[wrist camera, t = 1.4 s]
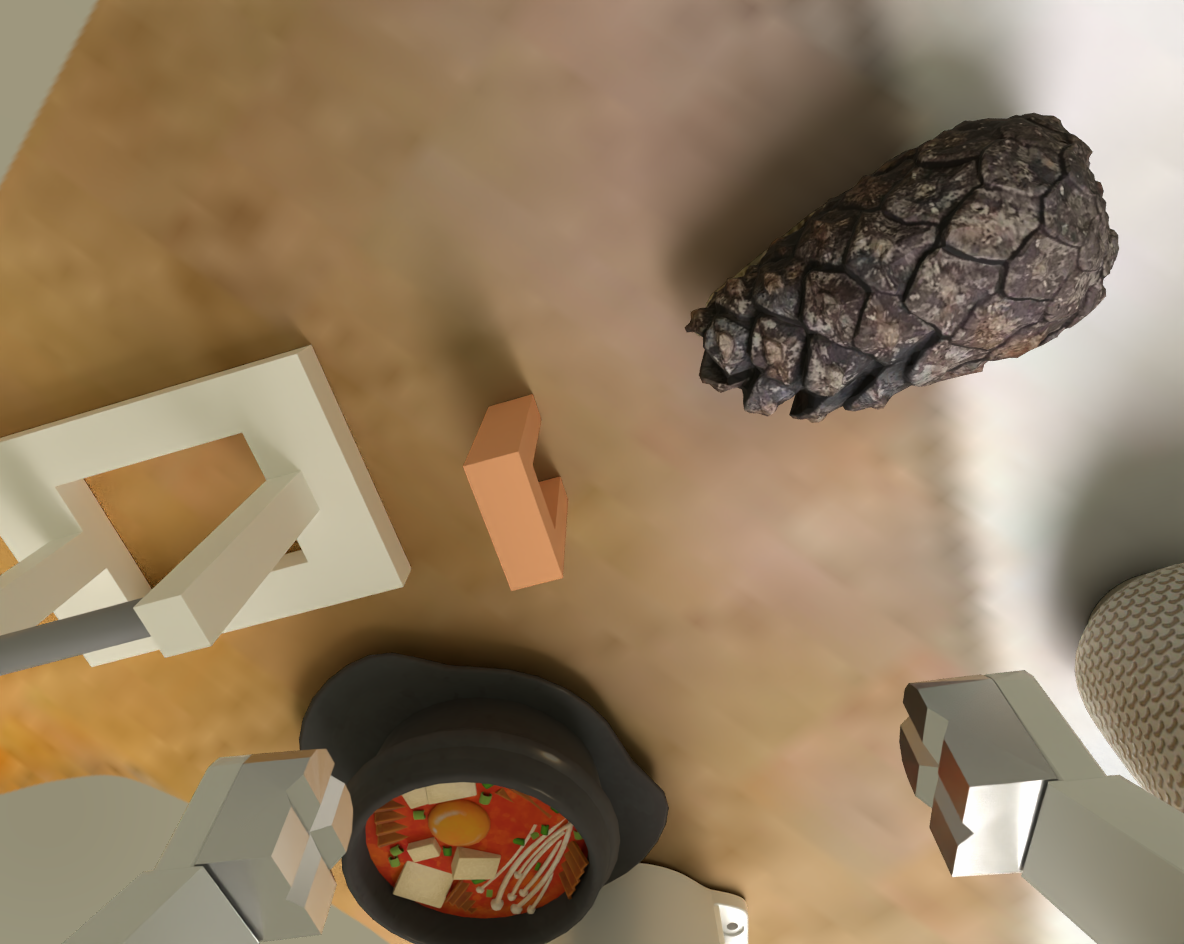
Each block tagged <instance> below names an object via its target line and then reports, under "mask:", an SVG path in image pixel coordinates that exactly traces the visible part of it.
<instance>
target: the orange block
mask: <svg viewBox="0 0 1184 944" xmlns="http://www.w3.org/2000/svg"><path fill="white" fill-rule="evenodd" d="M540 424H541V417H540V414H539V411H538V408H537V405H536V402H535V399H534V396H533V394H531V395H528V396H524V397H520V398H517V399H513V400H510V401H506V402H503V403H499V404H496V405H492V406H489V407H488V409H487V412H486V414H485V416H484V419H483V421H482V423H481V426H480V428H479V430H478V433H477V435H476V437H475V440H474V442H473V444H472V447H471V449H470V451H469V454H468V456H467V458H466V461H465V463H464V465H463V468H464V471H465V473H466V476H467V478H468V481H469V484H470V486H471V489H472V491H473V494H474V496H475V499H476V502H477V504H478V507H479V509H480V512H481V514H482V517H483V520H484V522H485V525H486V527H487V530H488V532H489V535H490V537H491V540H492V543H493V545H494V548H495V550H496V553H497V555H498V558H499V561H500V563H501V566H502V568H503V571H504V573H505V576H506V579H507V581H508V584H509V586H510V589H511V591H513V590H517V589H521V588H525V587H529V586H533V585H537V584H541V583H545V582H549V581H553V580H557V579H561V578H563V569H564V553H565V538H566V523H567V508H568V498H567V495H566V492H565V489H564V486H563V483H562V480H561V477H556V478H552V479H548V480H545V481H541V482H538V479H537V476H536V473H535V471H534V468H533V460H534V455H535V450H536V445H537V440H538V434H539V429H540Z"/></svg>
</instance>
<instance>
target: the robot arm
mask: <svg viewBox="0 0 1184 944" xmlns="http://www.w3.org/2000/svg"><path fill="white" fill-rule="evenodd" d="M903 704H904V706H905V708H906V710H907V712H908V714H909V717H908V718H907V719H906V720H905V721H904V722H903V723H902V724H901V725H900V741H899V743H900V749H901V755H902V762H903V765H904V768H905V771H906V774H907V777H908V780H909V782H910V785H911V787H912V789H913V792H914V794H915V796H916V797H918V798H919V799H920V800H921V801H923V802H924V803H925V804H927V805H928V806H929V807H931V808H932V813H931V820H930V830H931V832H932V834H933V836H934V838H935V840H936V843H937V845H938V847H939V849H940V851H941V854H942V856H943V858H944V860H945V862H946V864H947V867H948V869H949V871H950V873H951V875H952V877H958V876H973V875H989V874H1005V873H1021V872H1022V877H1023V878H1024V879H1025V880H1026V881H1027V882H1029V883H1030V884H1031V885H1032V886H1033V887H1034V888H1035V889H1036V890H1038V891H1039V892H1040V893H1041V894H1042V895H1043V896H1044V897H1045V898H1046V899H1048V900H1049V901H1050V902H1051V903H1052V904H1053V905H1054V906H1055V907H1057V908H1058V909H1059V910H1060V911H1061V912H1062V913H1063V914H1064V915H1066V916H1067V917H1068V918H1069V919H1070V920H1071V921H1072V922H1073V923H1075V924H1076V925H1077V926H1078V927H1079V928H1080V929H1081V930H1082V931H1083V932H1085V933H1086V934H1087V935H1088V936H1089V937H1090V938H1091V939H1092V940H1094V941H1095V942H1096V943H1097V944H1184V813H1182V812H1180V811H1179V810H1177V809H1175V808H1174V807H1172V806H1170V805H1169V804H1167V803H1165V802H1164V801H1162V800H1160V799H1159V798H1157V797H1155V796H1154V795H1152V794H1150V793H1149V792H1147V791H1145V790H1144V789H1142V788H1140V787H1139V786H1137V785H1135V784H1134V783H1132V782H1130V781H1129V780H1127V779H1125V778H1124V777H1122V776H1120V775H1110V776H1107V775H1106V774H1105V773H1104V771H1103V770H1102V769H1101V767H1100V766H1099V764H1098V763H1097V762H1096V760H1095V759H1094V758H1093V756H1092V755H1091V754H1090V752H1089V751H1088V750H1087V748H1086V747H1085V746H1084V744H1083V743H1082V741H1081V740H1080V739H1079V737H1078V736H1077V735H1076V733H1075V732H1074V731H1073V729H1072V728H1071V727H1070V725H1069V724H1068V722H1067V721H1066V720H1065V718H1064V717H1063V716H1062V714H1061V713H1060V712H1059V710H1058V709H1057V708H1056V706H1055V705H1054V704H1053V702H1052V701H1051V699H1050V698H1049V697H1048V695H1047V694H1046V693H1045V691H1044V690H1043V689H1042V687H1041V686H1040V685H1039V683H1038V682H1037V680H1036V679H1035V678H1034V676H1033V675H1031V674H1029V673H1028V672H1026V671H1025V670H1023V671H1013V672H1004V673H995V674H986V675H981V674H980V675H972V676H964V677H955V678H947V679H939V680H931V681H923V682H915V683H909V684H908V685H907V687H906V688H905V691H904V699H903ZM334 764H335V763H334V762H333V760H332V758H331V756H330V755H329V753H328V751H327V750H326V749H312V750H299V751H287V752H275V753H262V754H252V755H242V756H231V757H221V758H218V759H217V760H216V761H215V762H214V763H212V764H211V765H210V766H209V767H208V769H207V770H206V772H205V774H204V776H203V778H202V780H201V782H200V784H199V785H198V787H197V789H196V791H195V793H194V795H193V797H192V799H191V801H190V802H189V804H188V806H187V808H186V810H185V812H184V814H183V816H182V818H181V819H180V821H179V823H178V825H177V827H176V829H175V831H174V833H173V834H172V836H171V838H170V840H169V842H168V844H167V846H166V848H165V850H164V851H163V853H162V855H161V857H160V859H159V861H158V863H157V865H156V867H155V869H154V870H153V871H145V872H142V873H141V874H140V875H139V876H138V877H137V878H135V879H134V880H133V881H132V882H131V883H130V884H129V885H127V886H126V887H125V888H124V889H123V890H122V891H121V892H120V893H118V894H117V895H116V896H115V897H114V898H113V899H112V900H111V901H109V902H108V903H107V904H106V905H105V906H104V907H103V908H102V909H100V910H99V911H98V912H97V913H96V914H95V915H94V916H92V917H91V918H90V919H89V920H88V921H87V922H86V923H85V924H83V925H82V926H81V927H80V928H79V929H78V930H77V931H76V932H75V933H73V934H72V935H71V936H70V937H69V938H68V939H67V940H65V941H64V942H63V943H62V944H260V943H259V942H266V941H274V940H282V939H291V938H298V937H307V936H315V935H321V934H322V932H323V928H324V925H325V922H326V918H327V915H328V912H329V908H330V905H331V902H332V898H333V895H334V892H335V888H336V885H337V884H336V881H335V879H334V876H333V874H332V871H331V868H332V867H333V866H334V865H335V864H336V863H337V862H338V861H339V860H340V859H341V858H342V856H343V855H344V854H345V853H346V851H347V848H348V844H349V840H350V837H351V833H352V821H353V806H352V801H351V796H350V793H349V791H348V789H347V787H346V785H345V783H343V782H341V781H339V780H338V779H336V778H334V777H333V776H331V773H332V770H333V767H334ZM546 944H748V910H747V903H746V901H745V900H744V899H743V898H741V897H739V896H737V895H734V894H730V893H726V892H721V891H716V890H711V889H708V888H706V887H704V886H702V885H700V884H699V883H697V882H695V881H694V880H692V879H690V878H689V877H687V876H685V875H683V874H681V873H679V872H676V871H674V870H671V869H668V868H664V867H660V866H656V865H650V864H643V863H638V864H637V865H636V866H635V867H633V868H632V869H631V870H630V871H629V872H627V873H626V874H624V875H622V876H621V877H619V878H617V879H615V880H614V881H612V882H610V883H609V884H606V885H604V886H603V887H602V888H601V890H600V891H599V893H598V895H597V898H596V900H595V902H594V905H593V906H592V907H591V909H590V910H589V911H588V912H587V914H586V915H585V916H584V918H583V919H582V920H581V921H580V922H578V923H577V924H576V925H575V926H574V927H572V928H571V929H570V930H569V931H568V932H566V933H565V934H563V935H561V936H559V937H557V938H556V939H554V940H552V941H550V942H548V943H546Z"/></svg>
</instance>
